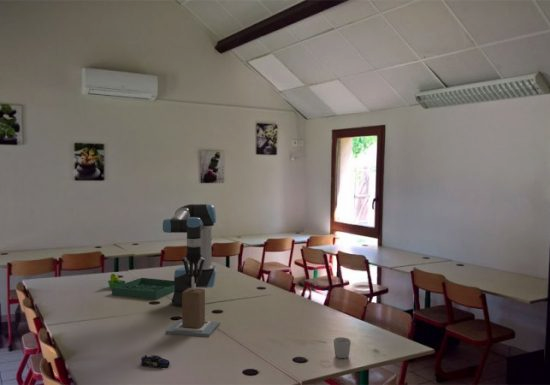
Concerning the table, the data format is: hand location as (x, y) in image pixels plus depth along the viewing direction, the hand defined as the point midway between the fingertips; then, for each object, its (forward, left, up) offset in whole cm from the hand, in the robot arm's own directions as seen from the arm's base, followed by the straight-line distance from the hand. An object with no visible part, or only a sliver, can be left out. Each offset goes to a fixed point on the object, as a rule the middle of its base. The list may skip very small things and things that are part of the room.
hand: (193, 288), depth 269 cm
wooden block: (0, 0, -21) cm, 21 cm away
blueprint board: (0, 0, -22) cm, 22 cm away
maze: (-58, +72, -23) cm, 95 cm away
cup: (+81, -23, -23) cm, 87 cm away
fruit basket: (-85, +76, -23) cm, 116 cm away
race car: (0, -50, -23) cm, 55 cm away
